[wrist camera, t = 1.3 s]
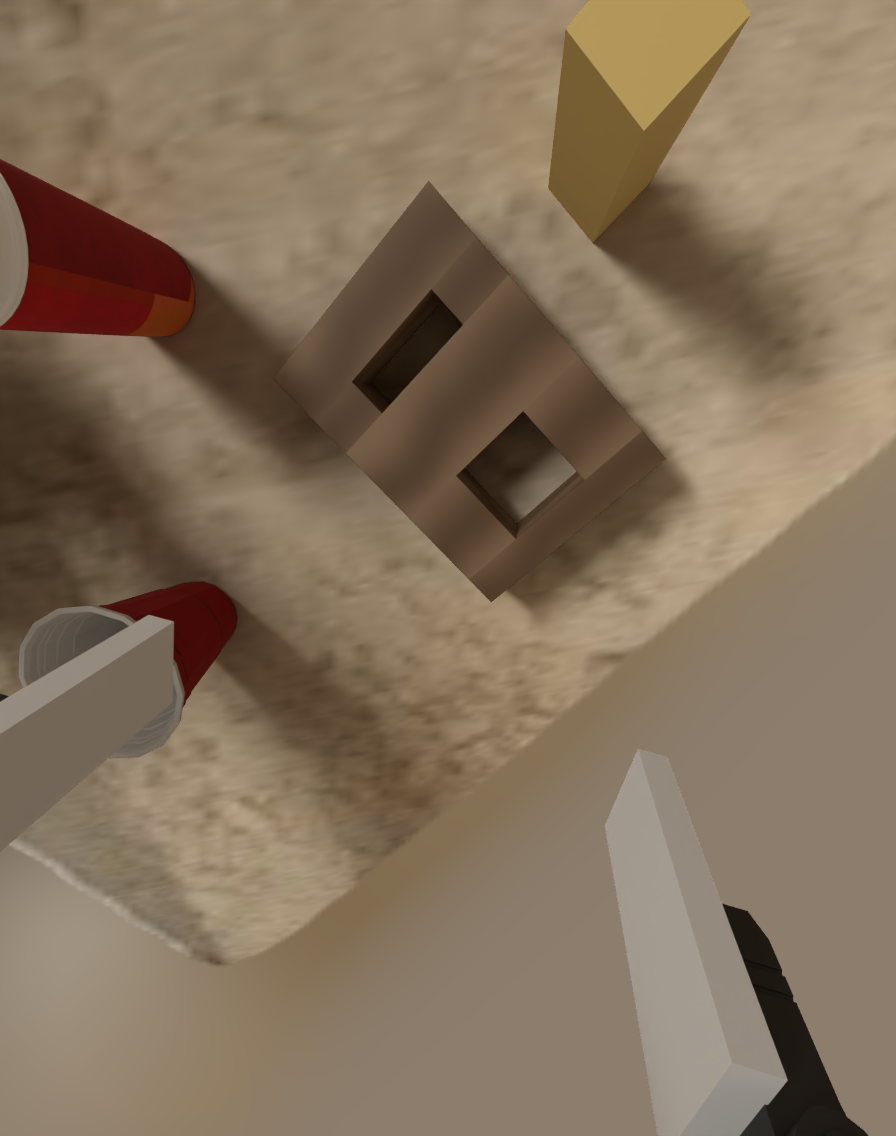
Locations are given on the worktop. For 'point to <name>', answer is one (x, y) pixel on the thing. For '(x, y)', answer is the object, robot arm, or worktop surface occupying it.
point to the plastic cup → (75, 630)
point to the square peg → (631, 96)
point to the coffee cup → (83, 267)
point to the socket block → (462, 397)
